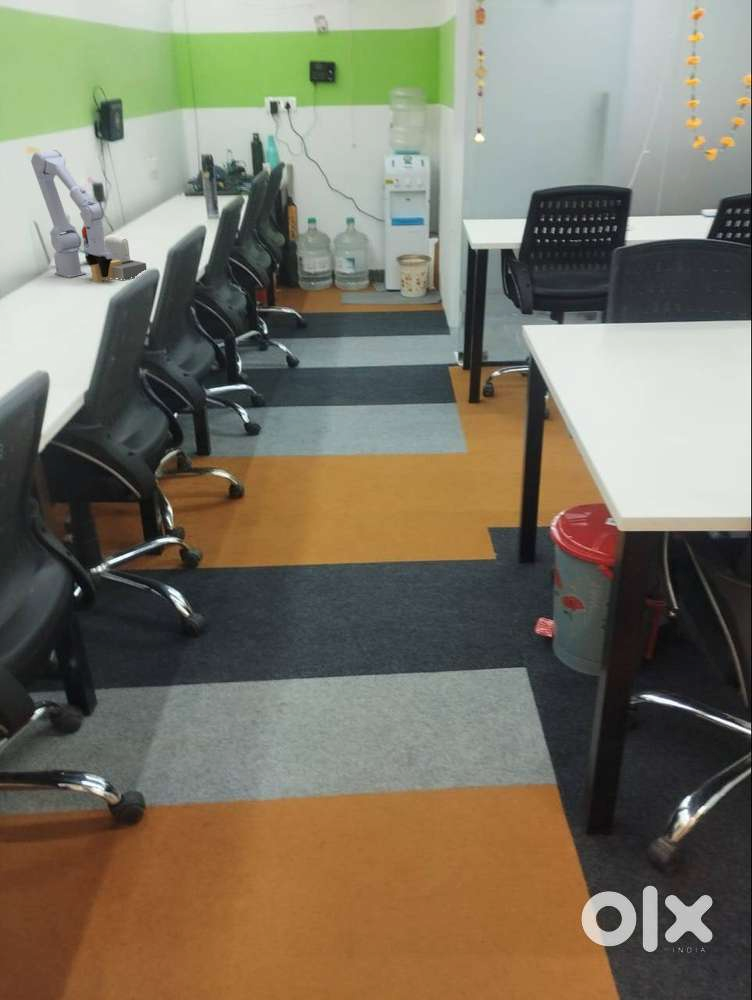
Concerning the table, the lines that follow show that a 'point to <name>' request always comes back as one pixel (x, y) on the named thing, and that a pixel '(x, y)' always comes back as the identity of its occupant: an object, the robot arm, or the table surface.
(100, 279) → the tan rectangular block
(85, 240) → the soda can
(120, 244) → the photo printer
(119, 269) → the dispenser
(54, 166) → the robot arm
